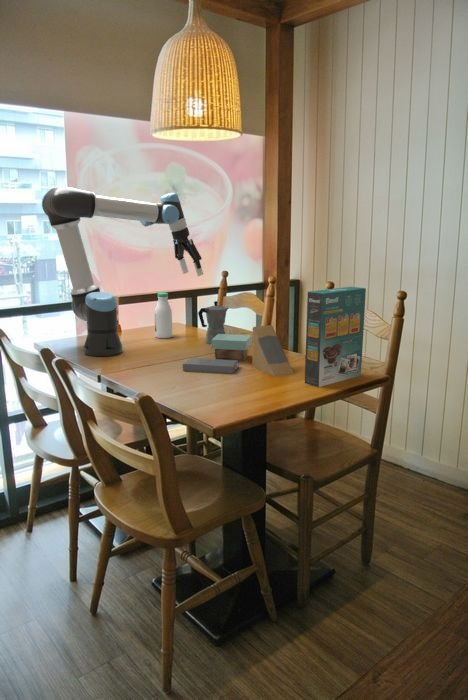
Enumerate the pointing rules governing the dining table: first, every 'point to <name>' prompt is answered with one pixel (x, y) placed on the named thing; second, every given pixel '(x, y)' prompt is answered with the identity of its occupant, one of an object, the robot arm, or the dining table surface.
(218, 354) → the crate
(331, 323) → the cake mix box
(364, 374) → the dining table surface
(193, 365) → the board
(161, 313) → the milk bottle
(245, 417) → the dining table surface
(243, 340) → the lid
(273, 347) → the sandwich container
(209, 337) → the coffeepot
